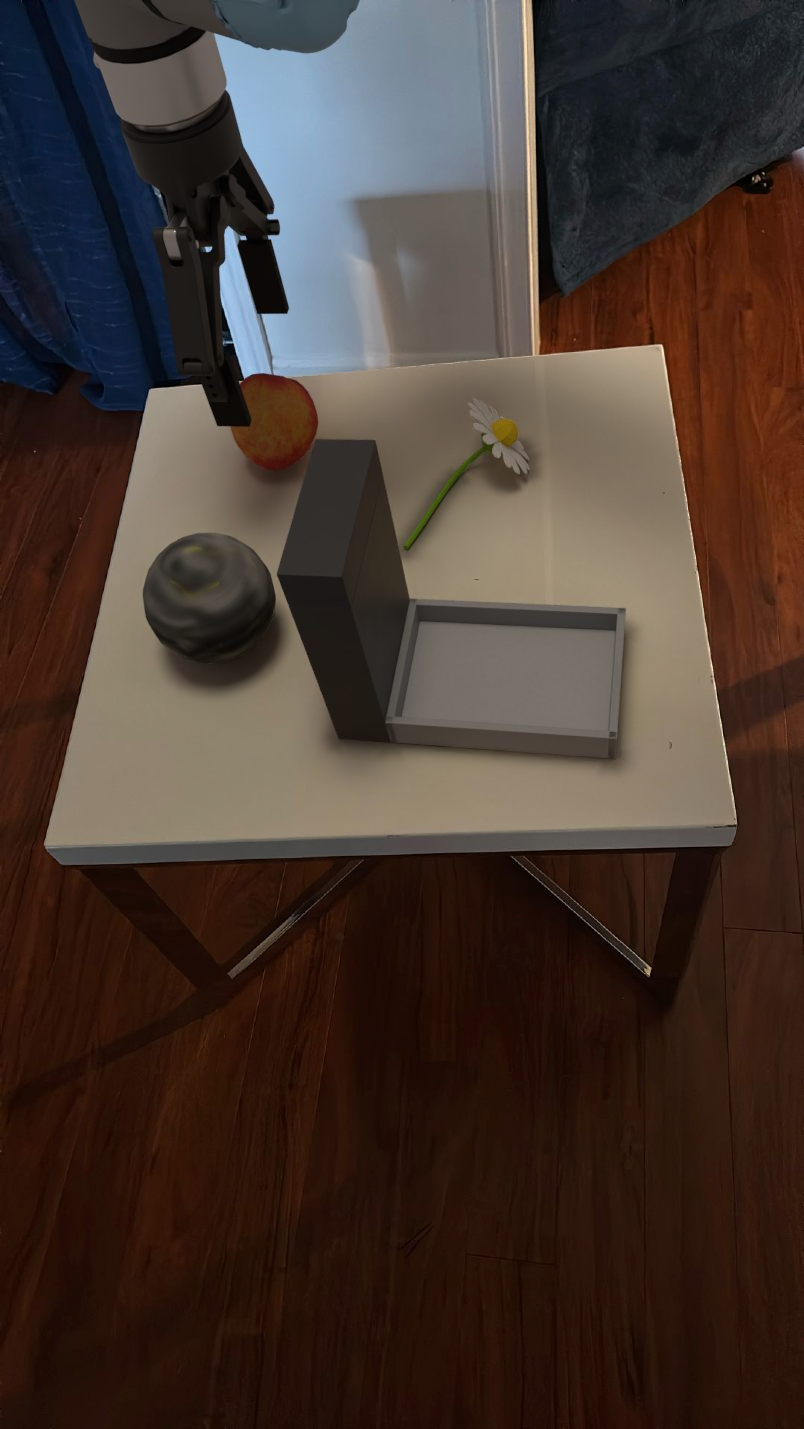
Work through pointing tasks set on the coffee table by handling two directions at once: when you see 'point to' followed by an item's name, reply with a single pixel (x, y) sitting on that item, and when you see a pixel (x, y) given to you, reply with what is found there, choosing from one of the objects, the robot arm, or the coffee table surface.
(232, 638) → the decorative stone
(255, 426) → the fruit
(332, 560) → the tray with tall back
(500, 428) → the decorative flower
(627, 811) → the coffee table surface
